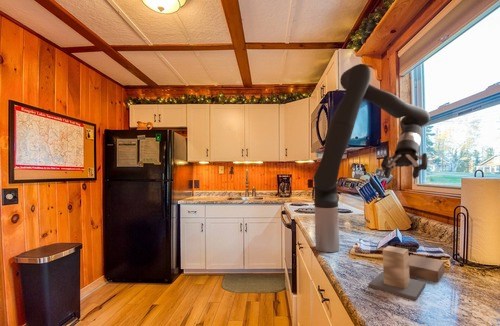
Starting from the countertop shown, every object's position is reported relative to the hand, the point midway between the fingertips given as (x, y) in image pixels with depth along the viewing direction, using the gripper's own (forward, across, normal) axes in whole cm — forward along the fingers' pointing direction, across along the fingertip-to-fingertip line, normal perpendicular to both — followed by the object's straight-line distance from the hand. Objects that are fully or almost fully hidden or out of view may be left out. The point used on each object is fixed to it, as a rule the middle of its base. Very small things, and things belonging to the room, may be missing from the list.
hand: (400, 176), depth 89 cm
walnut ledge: (+26, +7, +15) cm, 31 cm away
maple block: (+36, +4, +4) cm, 37 cm away
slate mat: (+37, +4, +4) cm, 37 cm away
